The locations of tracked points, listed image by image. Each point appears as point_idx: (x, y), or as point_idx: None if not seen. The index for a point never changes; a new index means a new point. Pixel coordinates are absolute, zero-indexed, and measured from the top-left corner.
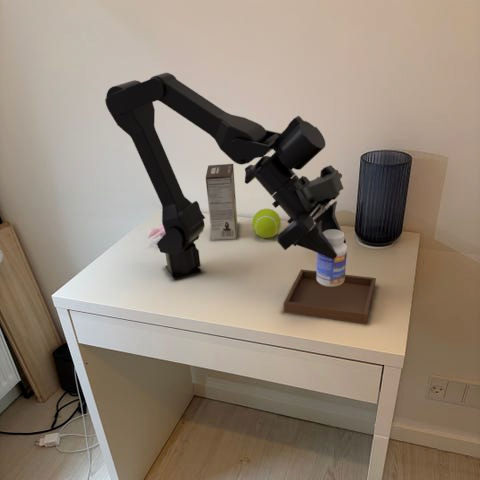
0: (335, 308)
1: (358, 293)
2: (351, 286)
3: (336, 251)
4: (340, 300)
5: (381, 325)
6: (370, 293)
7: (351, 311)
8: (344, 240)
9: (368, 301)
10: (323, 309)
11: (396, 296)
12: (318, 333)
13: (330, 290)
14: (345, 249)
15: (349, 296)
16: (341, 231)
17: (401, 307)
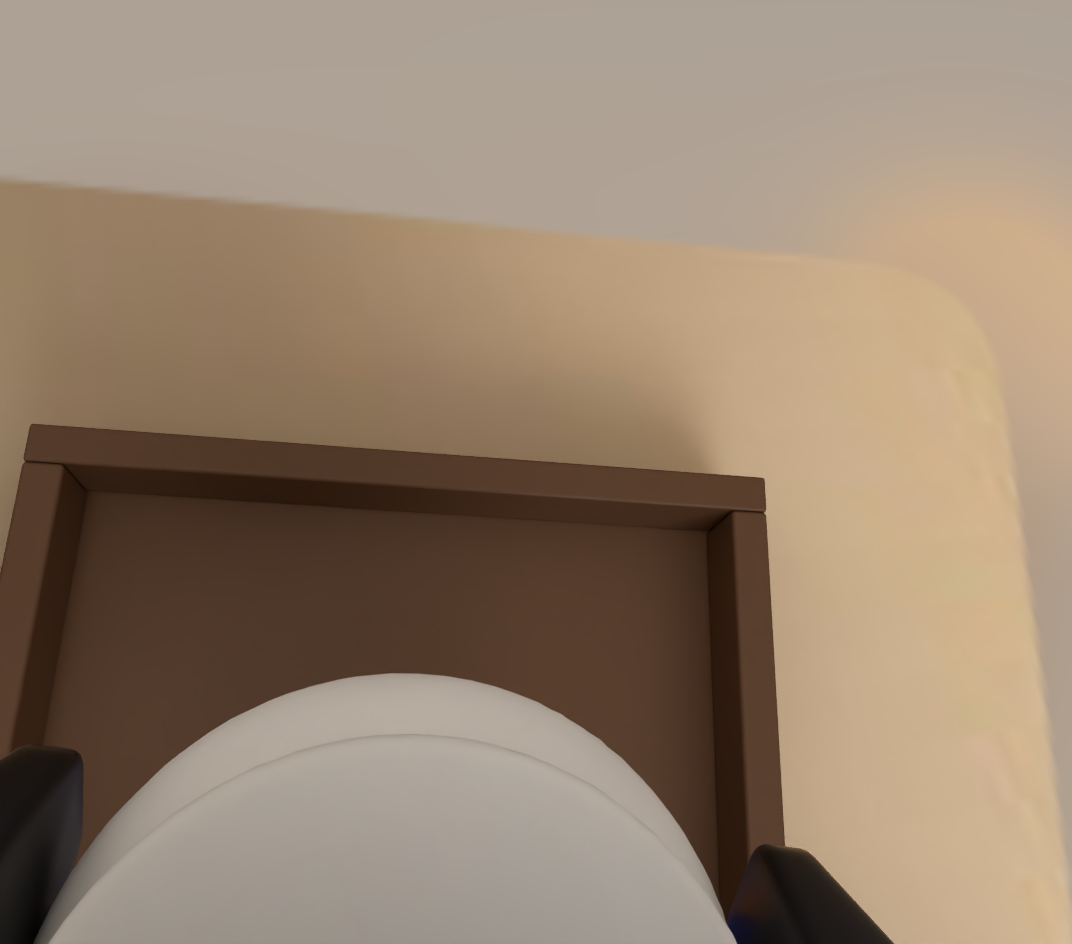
0: (751, 787)
1: (263, 608)
2: (117, 698)
3: (702, 882)
4: None
5: (708, 389)
6: (383, 464)
7: (756, 618)
8: (52, 778)
9: (540, 474)
10: None
11: (227, 276)
12: (989, 900)
13: None
14: (497, 694)
15: None
16: (155, 870)
17: (406, 243)
